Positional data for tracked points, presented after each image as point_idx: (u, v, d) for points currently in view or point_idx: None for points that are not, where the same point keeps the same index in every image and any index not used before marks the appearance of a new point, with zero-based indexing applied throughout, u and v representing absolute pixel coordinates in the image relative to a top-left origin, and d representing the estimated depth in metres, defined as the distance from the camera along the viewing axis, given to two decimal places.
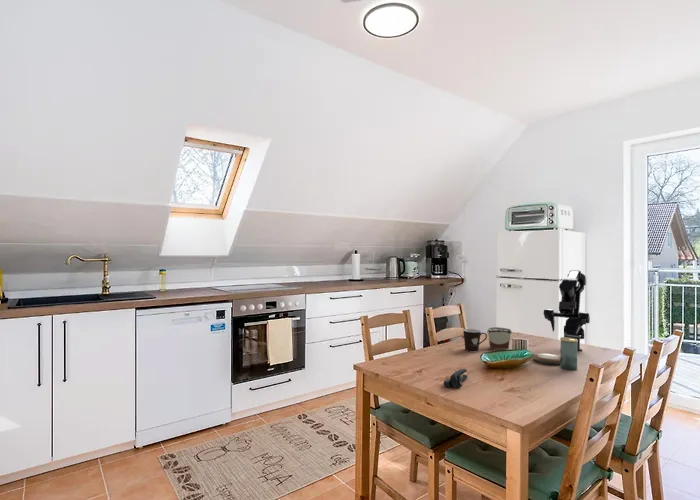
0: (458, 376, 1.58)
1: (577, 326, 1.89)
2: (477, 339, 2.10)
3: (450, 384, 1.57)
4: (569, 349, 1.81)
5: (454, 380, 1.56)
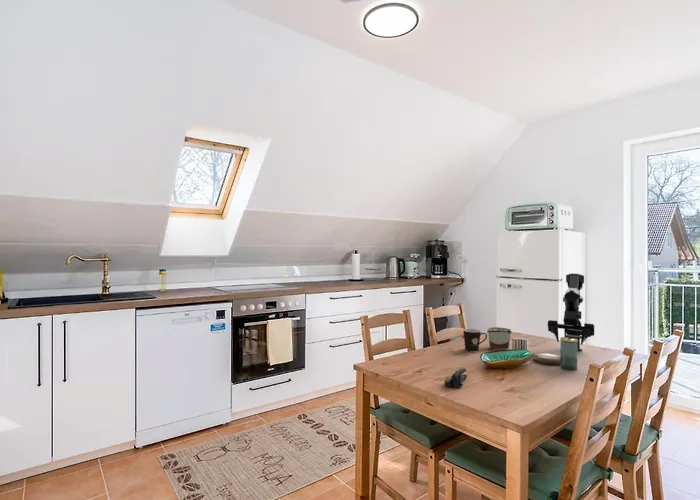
0: (459, 376, 1.58)
1: (583, 337, 1.85)
2: (477, 339, 2.10)
3: (451, 384, 1.58)
4: (569, 349, 1.81)
5: (455, 380, 1.56)
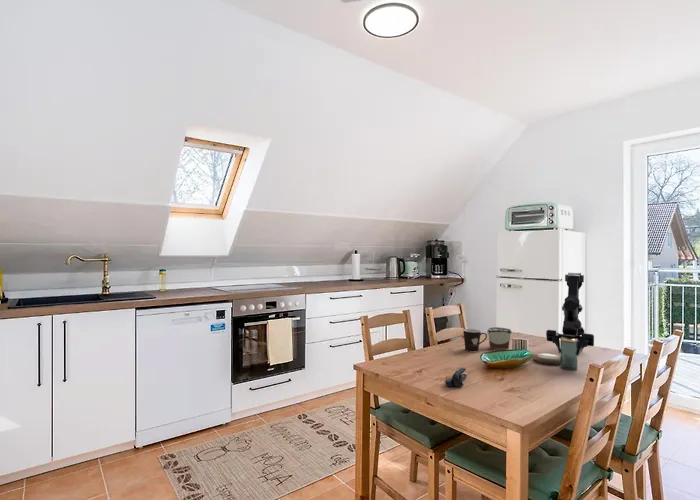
0: (460, 375, 1.58)
1: (579, 347, 1.81)
2: (477, 339, 2.10)
3: (452, 383, 1.58)
4: (569, 349, 1.81)
5: (456, 379, 1.56)
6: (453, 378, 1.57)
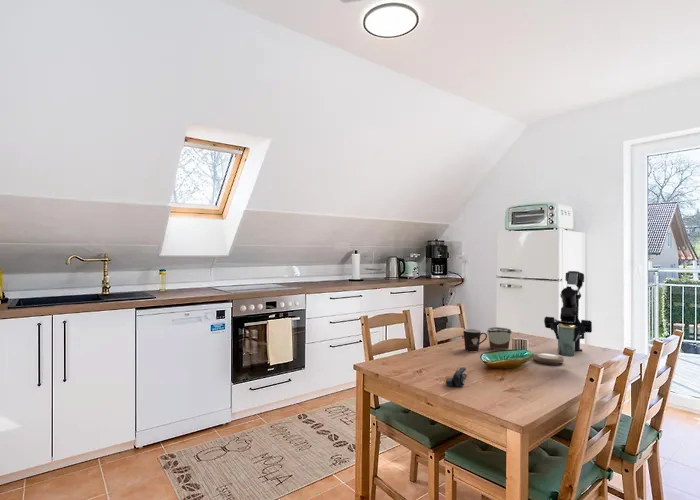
0: (460, 375, 1.59)
1: (576, 333, 1.82)
2: (477, 339, 2.10)
3: (453, 383, 1.58)
4: (566, 335, 1.82)
5: (457, 379, 1.57)
6: (454, 378, 1.57)
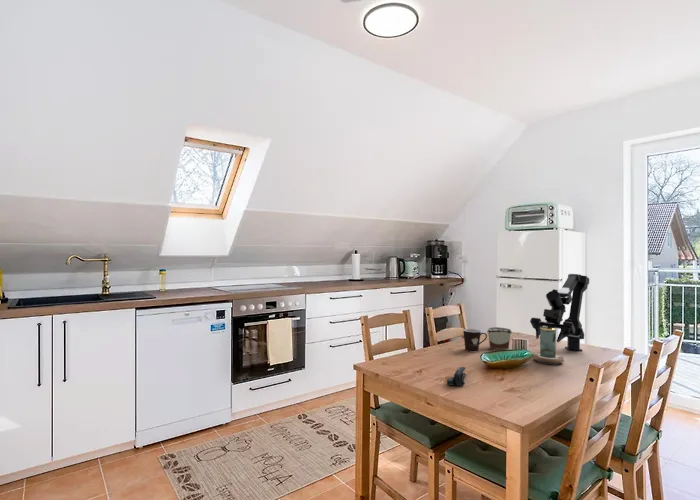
0: (461, 374, 1.60)
1: (560, 335, 1.90)
2: (477, 339, 2.10)
3: (453, 383, 1.59)
4: (545, 337, 1.92)
5: (458, 378, 1.57)
6: (455, 377, 1.58)
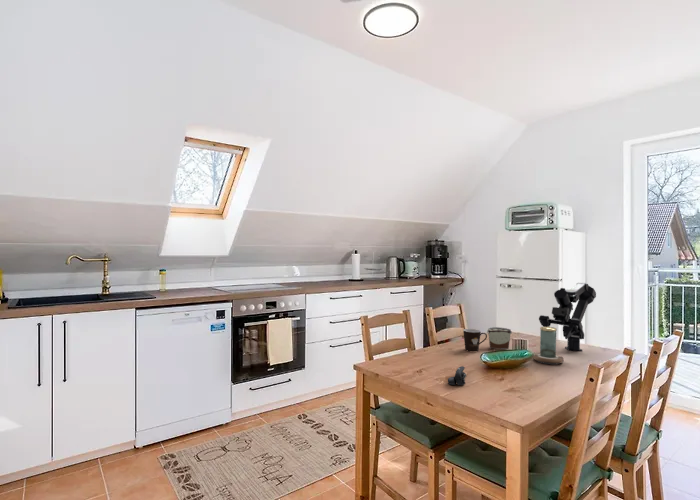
0: (462, 374, 1.60)
1: (568, 332, 1.97)
2: (477, 339, 2.10)
3: (454, 382, 1.60)
4: (546, 337, 1.92)
5: (459, 378, 1.58)
6: (456, 377, 1.58)
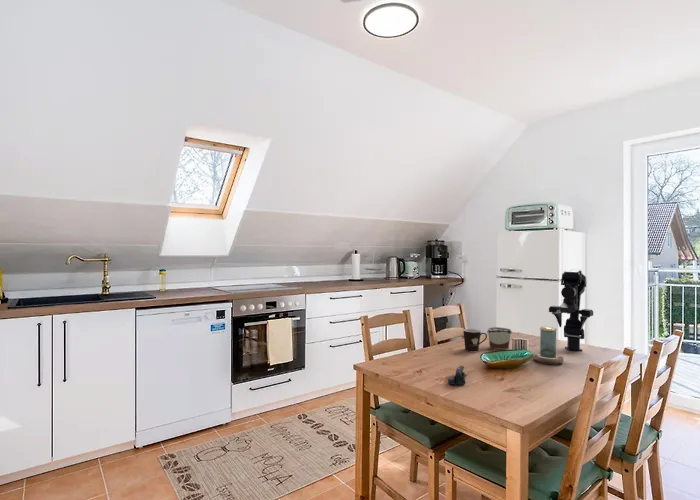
0: (462, 373, 1.61)
1: (581, 323, 2.01)
2: (477, 339, 2.10)
3: (455, 382, 1.60)
4: (546, 337, 1.92)
5: (459, 377, 1.58)
6: (456, 376, 1.59)
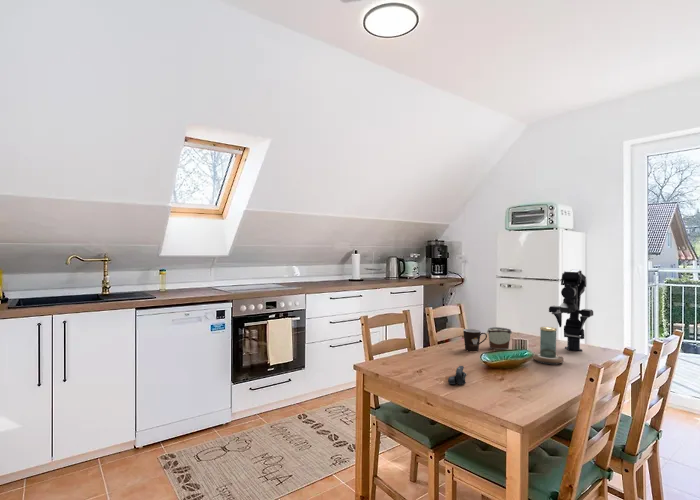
0: (462, 373, 1.61)
1: (581, 323, 2.01)
2: (477, 339, 2.10)
3: (455, 382, 1.60)
4: (546, 337, 1.92)
5: (460, 377, 1.59)
6: (457, 376, 1.59)
